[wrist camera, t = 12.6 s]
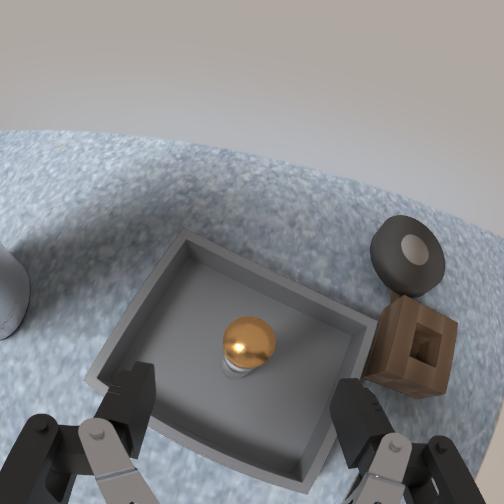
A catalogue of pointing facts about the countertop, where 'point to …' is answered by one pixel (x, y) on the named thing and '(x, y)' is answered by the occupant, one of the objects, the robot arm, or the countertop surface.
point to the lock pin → (246, 346)
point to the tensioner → (410, 312)
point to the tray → (256, 381)
